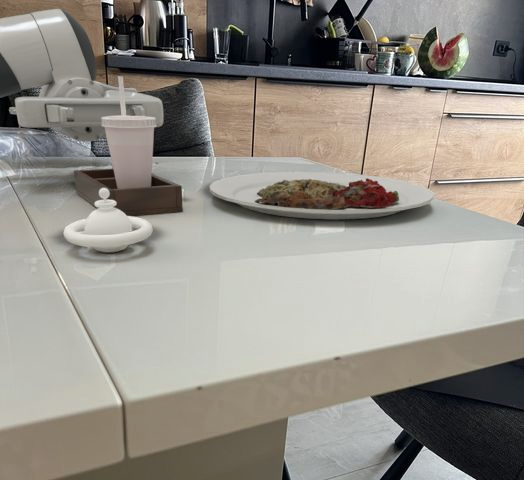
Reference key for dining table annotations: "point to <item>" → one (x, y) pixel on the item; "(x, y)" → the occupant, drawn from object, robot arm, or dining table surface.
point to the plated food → (321, 194)
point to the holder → (130, 193)
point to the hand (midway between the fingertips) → (105, 114)
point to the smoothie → (130, 145)
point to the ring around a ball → (107, 227)
